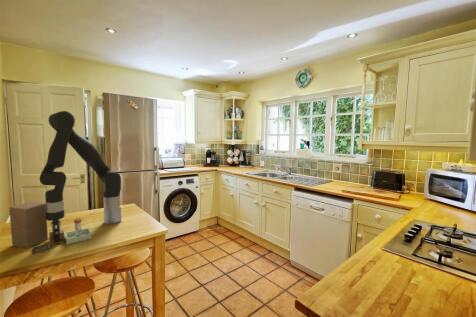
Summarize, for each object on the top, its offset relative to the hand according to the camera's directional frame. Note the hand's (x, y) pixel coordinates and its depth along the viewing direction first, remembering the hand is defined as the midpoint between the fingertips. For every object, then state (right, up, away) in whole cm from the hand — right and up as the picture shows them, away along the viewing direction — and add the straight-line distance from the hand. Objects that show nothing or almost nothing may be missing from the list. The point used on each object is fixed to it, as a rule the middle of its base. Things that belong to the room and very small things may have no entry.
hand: (56, 239), depth 118 cm
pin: (+9, 0, +4) cm, 10 cm away
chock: (0, -1, 0) cm, 1 cm away
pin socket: (-1, -2, -8) cm, 8 cm away
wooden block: (-12, -1, -2) cm, 12 cm away
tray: (+9, -1, +4) cm, 9 cm away
